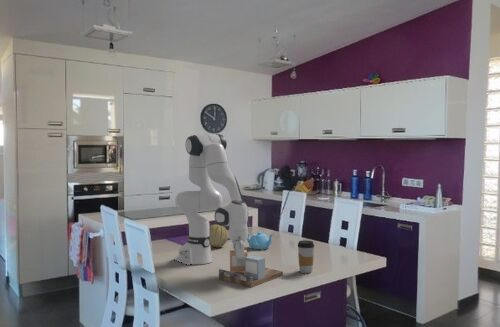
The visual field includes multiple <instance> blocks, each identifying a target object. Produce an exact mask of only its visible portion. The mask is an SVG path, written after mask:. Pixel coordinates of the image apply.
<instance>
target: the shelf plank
mask: <svg viewBox="0 0 500 327" xmlns="http://www.w3.org/2000/svg"><path fill="white" fill-rule="evenodd" d="M283 275H284V271H282V270H278V269H273V268H269V267H265V278H262V279H259V280H257V279H253V277H251V276H247V275H245V271H237V272H230V270H226V269H222V268H221V269H220V268H219V269H218V280H221V281H224V282H228V283H229V282H230V283H232V284H237V285H240V286H241V285H242V286H243V287H244V286H245V287H247V288H248V287H249V288H254V287H256V286H258V285H262V284H265V283H267V282H269V281H272V280H274V279H277V278H280V277H282V276H283Z"/></svg>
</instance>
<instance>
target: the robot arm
mask: <svg viewBox="0 0 500 327" xmlns="http://www.w3.org/2000/svg"><path fill="white" fill-rule="evenodd" d="M227 145H228V144H227V139H226V137H225V136H224V135H222V134H219V133H216V134H215V133H204V134H196V135H195V134H193V135H190V136H188V137H187V138H186V140H185V150H186V152H187V154H188V155H189V157H188V158H189V159H188V179H189V181H190V183H192V184H194V185H195V186H198V187H199V188H200V190H186V191H181V192H179V193H177V195H176V197H175V202H174V203H175V206H176V208H177V209H178V210H179V211H180V212H182V213H183V214H184V215H185V217H186V219H187V222H188V234H189V235H188V236H187V237H185V239H186V243H184V244H183V245H182V246H181V247H180V248H179V249H178V254H177V255H178V256H176V257H174V258H173V260H174V259H175V260H174V261H176V260H177V262H178V261H179V263H181V262H182V264H184V265H186V264H187V265H188V266H191V265H190V264H192V265H207V264H210V263H212V262H213V256H212V249H211V246H210V235H209V226H210V222H209V219H207V218H206V217H204V216H202V215H200V214H199V213H198V212H200V211H201V212H202V211H204V212H205V211H206V212H207V211H215V212H214V221H215V222H216V223H215V224H217V225H219V226H223V227H229V229H228V230H229V231H228V232H229V233H228V240H231V243H232V248H233V249H232V250H234V251H235V255H236V258H237V265H238V266H241V260H242V259H243V258H244V250H245V243H246V240H247V239H248V233H249V230H248V229H249V228H248V221H249V220H248V219H249V211H248V206H247V203H246V202H245V201H244V199H243V196H242V192H241V188H240V185H239V182H238V180H237V178H236V176H235V174H234V173H233V172H232V170H231V168H230V165H229V161H228V156H227V152H226V149H227V147H228V146H227ZM212 181H213V182H214V183H217V184H219V185H221V186H223V187H225V188H226V190H227V191H228V195H229V196H230V202H229V203H228V204H226V205H223V201H224V199H223V196H222V194H221V192H220V191H219V190H217V189H216V188H215V187H214V185H213V184H212ZM187 265H186V266H187Z"/></svg>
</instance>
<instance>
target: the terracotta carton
mask: <svg viewBox="0 0 500 327" xmlns="http://www.w3.org/2000/svg"><path fill="white" fill-rule="evenodd" d="M245 257H248V251H247V249H244V258H243V259H242V260H241V266H238V265H237V258H236V255H235V251H234V249H231V250H229V271H230V272H237V271H245Z"/></svg>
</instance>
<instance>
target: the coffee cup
mask: <svg viewBox="0 0 500 327" xmlns="http://www.w3.org/2000/svg"><path fill="white" fill-rule="evenodd" d="M297 251H298V254H297V255H298V265H299V272H300V273H302V274H311V273H312V272H313V266H314V251H315V244H314V241H313V240H305V239H304V240H303V239H302V240H299V241H298V243H297Z"/></svg>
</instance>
